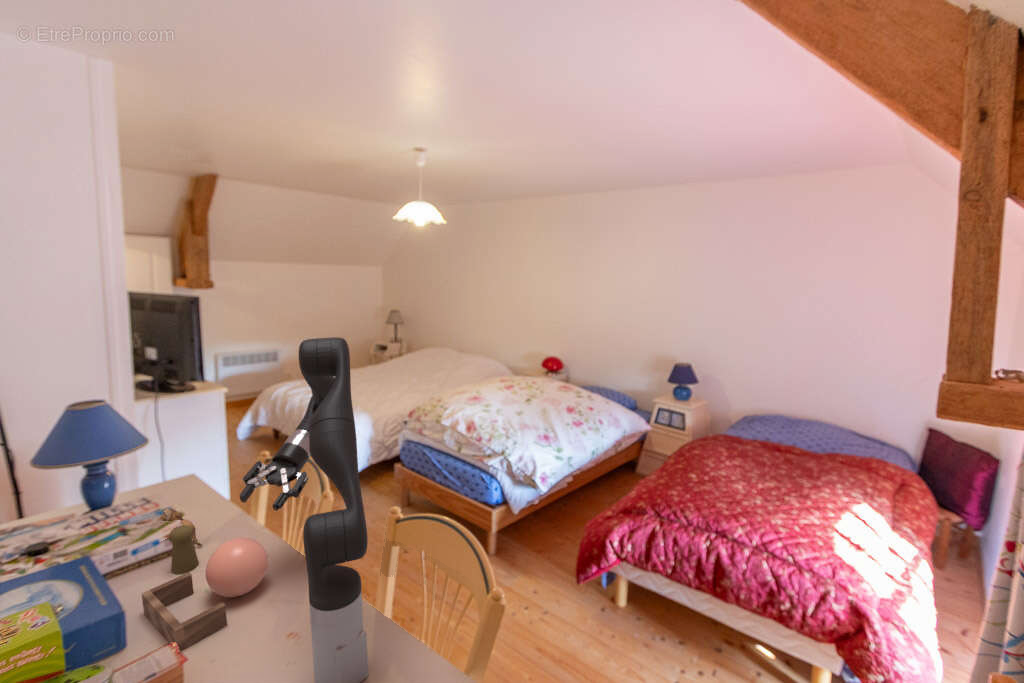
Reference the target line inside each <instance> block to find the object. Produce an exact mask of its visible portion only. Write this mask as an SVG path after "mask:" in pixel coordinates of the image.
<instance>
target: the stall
mask: <svg viewBox="0 0 1024 683" xmlns="http://www.w3.org/2000/svg"><path fill="white" fill-rule="evenodd" d="M194 593H195V592H194V584H193V576H192V573H191V572H187V573H184V574H181V575H180V576H177V577H175V578H173V579H171V580H168V581H167V582H164V583H161V584H159V585H157V586H155V587H153V588H150V589H149V590H146V591H144V592H142V593H141V598H142V599H141V601H142V607H143V608H142V609H143V614H144V615H145V616H146V618H147V619H148V620H149V621H150V623H151V624H153V626H154V627H155V628H156V629H157V631H158V632H159V633H160V634H161V635H162V636H163V638H164V639H165V640H166V641H167V642H168V643H169V644H170V643H171V642H176V643H177V645H178V647H179V650H180V651H181V652H182V651H184V650H186V649H188V648H189V646H190V647H191V646H194V644H196V643H198V642H200V641H202V640H204V639H206V638H207V636H208V637H209V636H211V635H213V634H215V633H216V632H218V631H219V630H222V629H224V628H225V626H226V627H227V626H228V620H227V609H226V604H225V603H224V602H223V601H222V602H219V603H217V604H216V605H214V606H212V607H210V608H208V609H206V610H204V611H203V612H200V613H198V614H196V615H195V616H192V617H191V618H189V619H186V620H184V621H183V622H180V621H179V620H178V619H177V618H176V617H175V616H174V615H173V613H171V611H170V610H169V609H167V607H169V606H171V605H173V604H174V603H177V602H179V601H181V600H183V599H185V598H187V597H189V596H191V595H194Z"/></svg>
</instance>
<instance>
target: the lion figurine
mask: <svg viewBox="0 0 1024 683" xmlns="http://www.w3.org/2000/svg"><path fill="white" fill-rule="evenodd" d="M182 517H183V518H184V515H182V514H181V513H180V512H179V511H177V510H176V509H173V508H167V509H164V510H163V514H161V515H160V517H159V518H158V519H157V520H156V522H157V523H158V522H161V521H174V520H181V521H182V522H183V524H182V525H189V526H191V527H192V528H193V532H194V534H193V536H192V541H193V543H194V544H195V545H197V546H198V547H202V546H203V544H202V543H200V542H198V539H197V536H196V527H195V525H194V523H193V522H192V521H188V520H186V519H185V518H184V519H183V518H182Z"/></svg>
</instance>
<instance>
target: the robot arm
mask: <svg viewBox="0 0 1024 683" xmlns="http://www.w3.org/2000/svg"><path fill="white" fill-rule="evenodd" d="M298 364H299V365H298V366H299V368H300V372H301V374H302V376H303V378H304V380H305V382H306V383H307V385H308V386H309V388H310V389H311V395H312V396H310V399H309V402H308V405H307V408H306V411H305V413H304V416H303V417H302V419H301V421H300V423H298V425H297V427H296V428H294V431H293V432H292V433H291V434H290V435H289V436H288V437H287V438H286V440H285V441H284V442H283V444H282V445H281V446H280V447H279V449H278V450H277V451H276V453H275V454H274V456H273V458H272V459H271V462H270V463H268V464H264V463H262V461H261V460H257V461H256V462H255V463H254V464H253V465H252V466H251V468H250V469H249V471H247V473H246V474H245V475H244V476H243V478H242V481H243V482H244V485H245V487H244V489H242V491H241V492H240V493H239V500H240V502H241V503H246V502H247V500H249V498H250V497H251V496H252V494H253V493H254V491H255V489H257V488H260V487H264V486H266V485H270V486H273V485H274V486H276V487H279V488H281V487H282V492H280V493H279V495H278V496H277V498H276V499H275V501H274V502H273V503H272V509H273V511H279V510H280V509H282V508H283V507H284V505H285V503H286V502H287V501H288V499H290V498H291V497H292V498H298V497H300V494H301V493H302V491H303V490H304V488H305V486H306V484H307V482H308V481H309V476H308V474H307V472H306V471H302V469H303V468H304V467H305V465H306V464H307V462H308V460H309V459H310V457H311V458H312V460H313V462H314V463H315V464H316V465H317V467H318V468H319V469H320V470H321V471H322V472H323V473H324V475H325V476H326V477H328V479H329V480H330V481H331V482H332V483H333V485H334V486H335V488H336V489H337V491H338V492H339V494H340V495H341V497H342V500H343V503H344V505H345V508H344V509H338V510H332V511H326V512H321V513H315V514H312V515H310V516H307V518H306V519H305V522H304V525H303V530H302V531H303V533H302V534H303V535H302V537H303V539H302V540H303V548H304V549H303V550H304V556H305V564H306V570H307V582H308V583H307V584H308V600H309V601H308V602H309V615H310V616H309V618H310V629H311V630H310V632H311V647H312V662H313V663H312V664H313V674H314V675H313V676H314V683H362V681H364V680H365V679H367V678H368V677H369V663H368V662H369V661H368V641H367V632H366V631H365V630H364V615H363V614H364V612H363V593H362V578H361V575H360V573H359V571H357V570H356V569H354V568H352V567H351V566H350V567H349V566H347V565H339V564H344V563H348V562H353V561H357V560H360V559H363V558H364V557H365V555H366V553H367V550H368V541H369V540H368V528H367V522H366V514H365V508H364V502H363V495H362V489H361V488H362V487H361V483H360V475H359V460H358V445H357V444H358V443H357V433H356V431H357V430H356V421H355V414H354V409H353V402H352V401H353V400H352V388H351V386H352V381H351V380H352V379H351V354H350V348H349V344H348V341H347V340H346V339H345V338H343V337H337V336H336V337H320V338H319V337H318V338H307V339H305V340H302V341H301V342H300V344H299V347H298ZM301 471H302V472H301ZM263 478H265V479H263ZM294 480H296V481H295V484H294V486H292V488H291V482H293V481H294Z"/></svg>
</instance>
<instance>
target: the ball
mask: <svg viewBox="0 0 1024 683" xmlns="http://www.w3.org/2000/svg"><path fill="white" fill-rule="evenodd" d="M268 566H269V558H268V554H267V551H266V549H265V547H264V546H263V545H262V543H261V542H259V541H257V540H256V539H253V538H251V537H236V538H232V539H228V540H227V541H225V542H224V543H222V544H221V545H220V546H218V547H217V548H216V549H215V550H214V551H213V552H212V554H211V555H210V557H209V559H208V561H207V563H206V566H205V567H206V568H205V580H206V582H207V585H208V587H209V589H210V590H211V591H212V592H213V593H215V594H216V595H219V596H221V597H225V598H236V597H240V596H243V595H246V594H248V593H250V592H251V591H252V590H254V589H255V588H256V587H257V586H259V584H260V583H261V582H262V580H263V579H264V577H265V575H266V573H267V569H268Z"/></svg>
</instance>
